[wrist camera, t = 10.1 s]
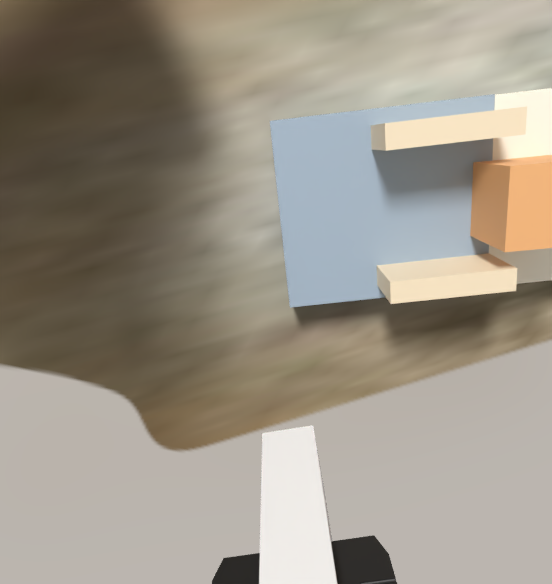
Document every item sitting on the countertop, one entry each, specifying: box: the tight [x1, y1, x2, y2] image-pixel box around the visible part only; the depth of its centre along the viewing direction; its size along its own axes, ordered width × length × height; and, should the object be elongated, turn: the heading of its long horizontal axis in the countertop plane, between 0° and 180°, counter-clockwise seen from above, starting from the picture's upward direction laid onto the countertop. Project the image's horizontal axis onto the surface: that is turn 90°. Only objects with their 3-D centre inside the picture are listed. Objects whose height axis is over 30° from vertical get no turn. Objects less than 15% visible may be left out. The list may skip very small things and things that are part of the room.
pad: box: [489, 88, 552, 284], centre depth 32 cm, size 6×13×3 cm, turn 6°
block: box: [470, 155, 552, 252], centre depth 29 cm, size 5×5×5 cm
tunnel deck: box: [270, 94, 527, 307], centre depth 30 cm, size 28×13×7 cm, turn 96°
